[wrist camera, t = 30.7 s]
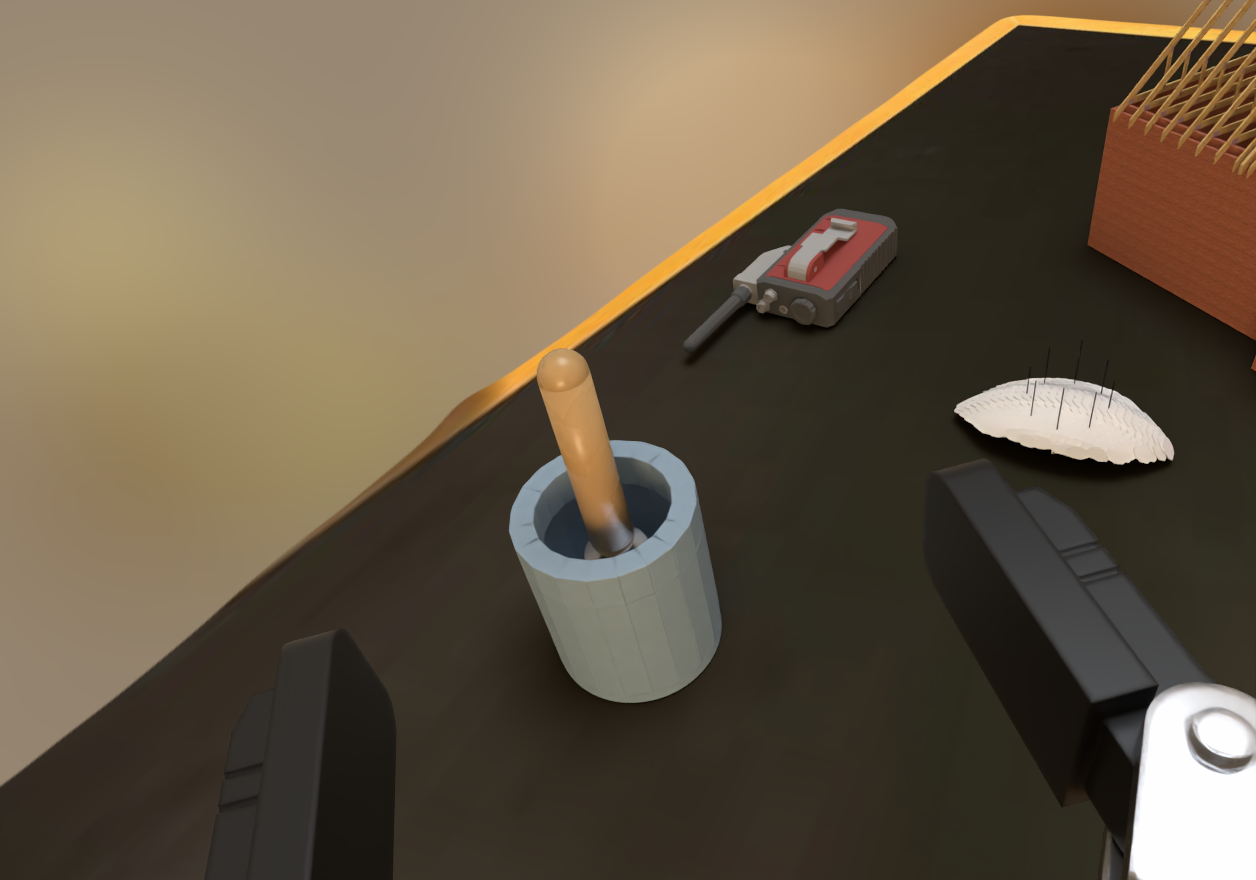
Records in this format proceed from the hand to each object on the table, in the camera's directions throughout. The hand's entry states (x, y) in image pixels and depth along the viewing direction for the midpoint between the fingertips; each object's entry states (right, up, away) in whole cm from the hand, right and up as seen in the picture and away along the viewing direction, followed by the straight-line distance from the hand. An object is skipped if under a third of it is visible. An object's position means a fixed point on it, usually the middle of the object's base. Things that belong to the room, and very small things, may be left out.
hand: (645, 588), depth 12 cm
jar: (0, -8, +36) cm, 37 cm away
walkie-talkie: (+13, +13, +56) cm, 59 cm away
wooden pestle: (0, -8, +36) cm, 37 cm away
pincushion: (+26, +2, +41) cm, 48 cm away
